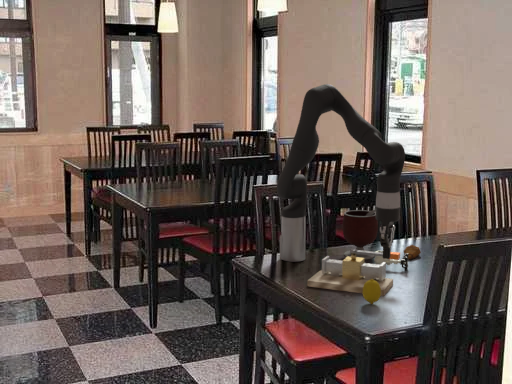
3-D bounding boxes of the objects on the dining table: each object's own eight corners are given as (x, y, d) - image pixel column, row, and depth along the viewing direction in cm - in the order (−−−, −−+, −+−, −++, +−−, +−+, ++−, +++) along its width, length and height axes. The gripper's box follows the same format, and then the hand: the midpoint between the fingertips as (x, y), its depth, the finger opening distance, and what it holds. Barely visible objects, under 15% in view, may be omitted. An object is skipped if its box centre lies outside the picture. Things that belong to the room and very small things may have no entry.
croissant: (417, 262, 241) (418, 249, 240) (400, 260, 244) (400, 247, 243) (423, 253, 253) (423, 241, 252) (406, 252, 256) (406, 240, 255)
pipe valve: (321, 275, 217) (321, 253, 216) (327, 271, 222) (327, 249, 221) (381, 283, 208) (382, 259, 207) (385, 278, 214) (386, 255, 212)
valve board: (307, 286, 212) (307, 280, 212) (320, 275, 224) (320, 270, 223) (383, 296, 201) (383, 290, 201) (393, 284, 213) (393, 278, 213)
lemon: (360, 301, 197) (360, 276, 195) (377, 300, 197) (378, 276, 196) (364, 307, 191) (365, 282, 190) (382, 306, 192) (383, 281, 190)
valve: (373, 271, 229) (406, 273, 225) (373, 253, 228) (407, 256, 224) (375, 266, 235) (408, 268, 232) (375, 249, 234) (408, 251, 231)
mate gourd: (334, 255, 251) (335, 205, 248) (357, 249, 260) (358, 201, 257) (365, 262, 240) (366, 211, 236) (387, 256, 248) (389, 206, 245)
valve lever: (348, 254, 213) (348, 249, 213) (351, 252, 216) (351, 247, 215) (398, 259, 206) (398, 254, 206) (400, 258, 209) (400, 252, 208)
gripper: (395, 210, 192) (393, 264, 195) (404, 202, 204) (402, 254, 207) (370, 208, 195) (369, 262, 198) (381, 200, 207) (380, 251, 210)
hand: (386, 258), depth 202 cm, fingers closed
